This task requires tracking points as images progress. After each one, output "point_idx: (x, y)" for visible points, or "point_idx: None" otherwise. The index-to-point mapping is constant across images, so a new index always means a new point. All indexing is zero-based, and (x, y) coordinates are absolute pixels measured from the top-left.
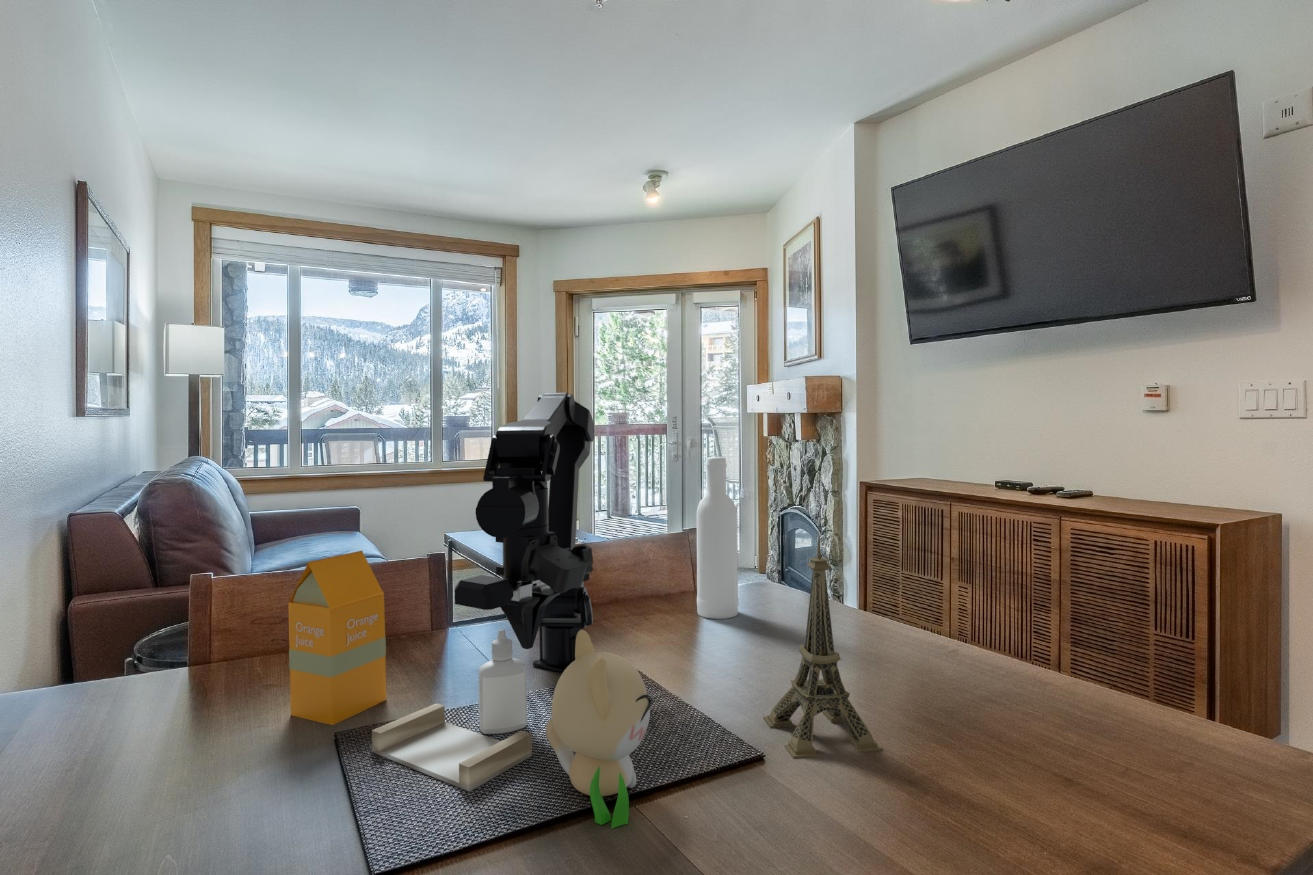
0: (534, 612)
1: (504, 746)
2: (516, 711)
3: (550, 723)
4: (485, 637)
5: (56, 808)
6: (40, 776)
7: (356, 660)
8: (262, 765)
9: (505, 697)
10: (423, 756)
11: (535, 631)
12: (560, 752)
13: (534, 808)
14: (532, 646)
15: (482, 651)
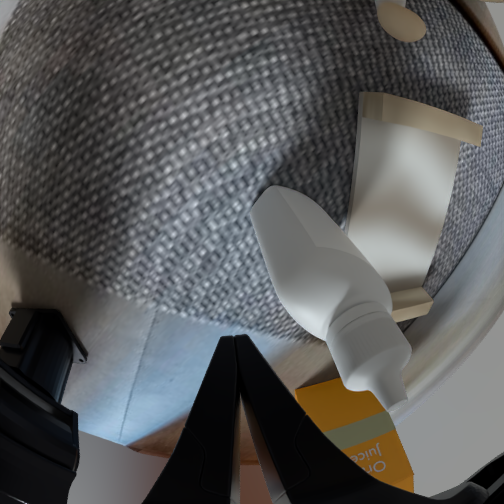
0: (233, 480)
1: (434, 112)
2: (306, 203)
3: (425, 27)
4: (103, 424)
5: (474, 343)
6: (446, 377)
7: (356, 429)
8: (439, 331)
9: (341, 232)
10: (426, 235)
11: (219, 386)
12: (404, 6)
13: (446, 22)
14: (223, 337)
15: (123, 412)
